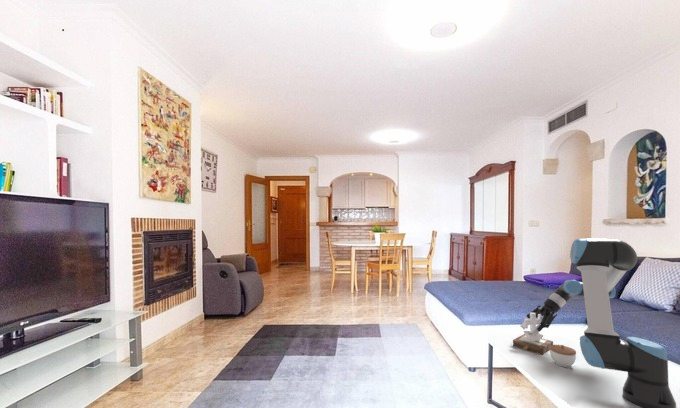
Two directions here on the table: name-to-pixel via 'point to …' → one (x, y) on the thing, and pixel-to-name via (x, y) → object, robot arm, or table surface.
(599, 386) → the table surface
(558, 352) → the lidded jar
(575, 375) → the table surface
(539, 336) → the figurine
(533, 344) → the wooden box
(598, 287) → the robot arm
